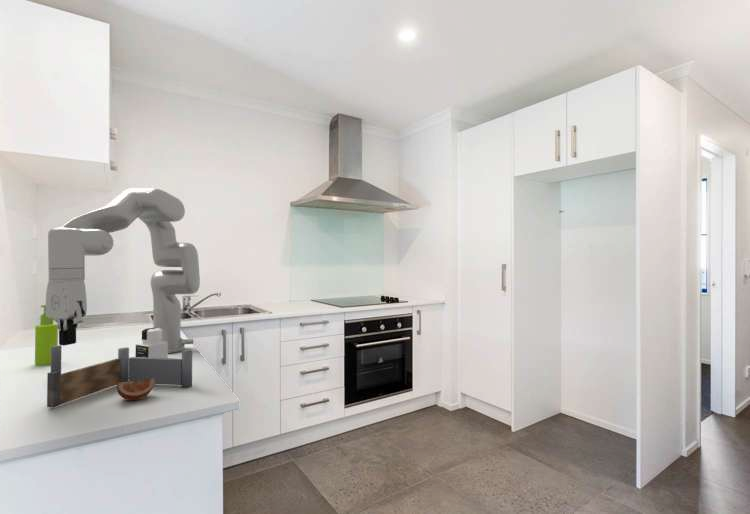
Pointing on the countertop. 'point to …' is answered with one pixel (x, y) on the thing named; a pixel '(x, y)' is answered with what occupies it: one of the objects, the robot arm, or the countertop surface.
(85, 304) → the robot arm
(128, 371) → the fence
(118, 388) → the fruit slice
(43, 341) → the soap dispenser
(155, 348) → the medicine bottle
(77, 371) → the gate
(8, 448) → the countertop surface
